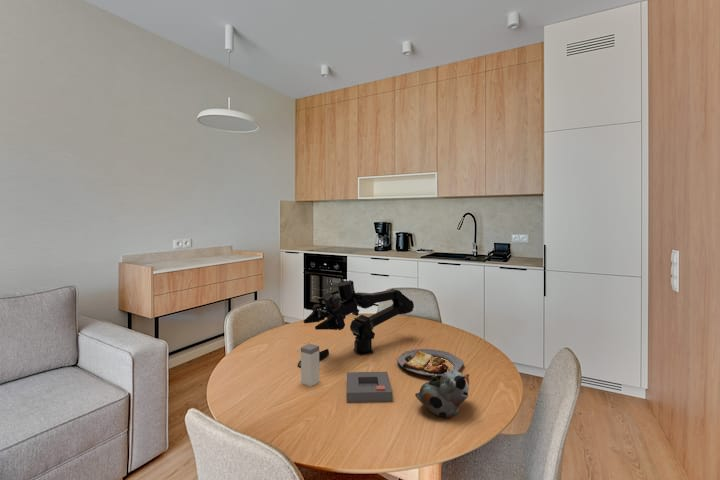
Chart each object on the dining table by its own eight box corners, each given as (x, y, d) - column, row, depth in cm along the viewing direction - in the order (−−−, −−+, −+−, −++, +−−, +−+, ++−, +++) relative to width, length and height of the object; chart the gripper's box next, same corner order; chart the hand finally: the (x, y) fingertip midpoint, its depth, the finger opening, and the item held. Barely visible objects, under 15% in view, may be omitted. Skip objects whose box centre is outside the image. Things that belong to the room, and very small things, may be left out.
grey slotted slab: (346, 380, 118) (346, 370, 118) (387, 380, 119) (387, 369, 118) (346, 402, 104) (346, 390, 104) (392, 401, 105) (392, 390, 104)
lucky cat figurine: (428, 391, 111) (450, 354, 110) (459, 418, 104) (483, 380, 102) (407, 396, 99) (431, 356, 98) (441, 428, 92) (467, 385, 91)
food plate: (449, 386, 114) (449, 376, 113) (387, 371, 126) (387, 361, 126) (469, 362, 135) (469, 353, 135) (414, 351, 147) (414, 342, 147)
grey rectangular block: (309, 378, 120) (309, 343, 119) (319, 381, 118) (319, 346, 117) (301, 383, 116) (300, 347, 116) (310, 386, 114) (310, 350, 113)
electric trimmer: (331, 357, 140) (331, 349, 140) (303, 369, 127) (303, 361, 127) (324, 355, 142) (324, 347, 142) (296, 367, 130) (296, 359, 129)
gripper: (327, 286, 143) (293, 300, 134) (352, 294, 128) (316, 310, 119) (332, 311, 145) (300, 326, 137) (358, 321, 130) (323, 339, 122)
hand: (309, 325), depth 128 cm, fingers open, 9 cm apart
